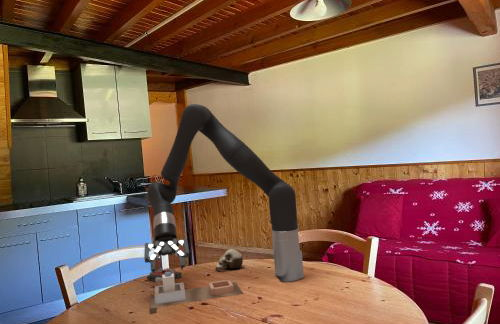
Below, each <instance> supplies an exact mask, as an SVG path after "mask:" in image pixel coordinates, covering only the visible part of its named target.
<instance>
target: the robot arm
mask: <svg viewBox="0 0 500 324" xmlns="http://www.w3.org/2000/svg"><path fill="white" fill-rule="evenodd" d="M177 128H178V129H177V132H176V135H175V139H174V142H173V144H172V147H171V149H170V151H169V154H168V156H167V158H166V161H165V163H164V165H163V166H162V169H161V172H160V176H161V177H162V178H163V179H165V180H166V181H168V184H166V183H162V182H158V181H153V182H151V183H150V184H149V185H148V187H147V191H146V193H147V198H148V202H149V204H150V206H151V209H152V210H153V211H152V212H153V226H152V227H153V239H154V240H153V241H154V242H153V244H152V243H150V244H149V242H145V243H144V253H143V255H144V257H143V258H144V263H148V264H149V263H150V271H151V272H153V273H156V270H157V269H156V261H157V260H158V259H159V258H160V256H163V257H165V256H170V255H171V256H172V254H173V255H174V256H175V257H178V259H179V265H180V270H184V268H185V267H186V263H185V259H186V258H190V249H189V243H188V238H186V237H185V238H183V239H181V240H179V239H178V235H177V225H176V219H175V214H174V207H173V205H172V203H173V202H174V201H175V199H176V197H177V191H178V185H179V181H180V178H181V176H182V173H183V171H184V169H185V166H186V164H187V160H188V157H189V151H190V148H191V145H192V143H193V140H194V138H195V137H196V136H197V133H201V134H202V135H204V136H205V137H206V138H207V139H208V140H209V141H210V142H212V144H213V145H214V146H215V148H216V149H217V151H218V152H219V154H220V156H221V157H222V158H223V159H224V160H225V162H226V163H228V165H230V167H231V168H233V169H234V170H235V171H236V172H237V173H239V174H240V175H241V176H243V177H244V178H246V179H247V180H249V181H250V182H252V183H253V184H255V185H256V186H257V187H259V188H260V189H261V191H262V192H264V194H265V195H266V196H267V197H268V204H269V205H268V206H269V208H268V209H269V216H270V224H271V225H270V226H271V235H272V249H273V250H272V251H273V262H274V263H273V264H274V265H273V266H274V275H275V278H276V279H278V281H280V282H287V283H288V282H296V281H299V280H301V279H304V278H305V277H304V276H305V275H304V265H303V264H304V263H303V251H302V250H301V249H300V237H299V226H298V224H299V223H298V222H299V221H298V213H297V212H298V211H297V199H296V197H297V196H296V195H297V194H296V191H295V189H294V188H293V186H291V185H290V184H288V183H287V182H286V181H284V180H283V179H281V178H280V176H278V175H276V174H275V173H274V172H273V171H272V170H271V169H270V168H269V167H268V166H267V165H266V164H265V163H264V161H263V160H262V159H261V158H260V157H259V156H258V155H257V154H256V153H255V152H254V150H252V149H251V147H249V146H248V145H247V144H246V143H245V142H243V141H242V140H241V139H240V138H239V137H237V136H236V135H235V134H234V133H233V132H231V131H230V130H228V129H227V128H226V126H225V125H223V124H222V123H221V121H219V119H217V117H216V116H215V115H214V113H212V111H211V110H210V109H209V108H208V107H206V106H205V105H202V104H196V103H194V104H193V103H192V104H188V105H187V106H186V107H185V108H184V109H183V111H182V113H181V118H180V122H179V125H178V127H177ZM179 246H181V248H183V250H184V252H183V251H182V250H181V249H180V248H179ZM152 249H153V250H154V251H153V253H152V255H150V252H151V251H152ZM151 272H150V273H151Z"/></svg>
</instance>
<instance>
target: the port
mask: <svg viewBox="0 0 500 324" xmlns="http://www.w3.org/2000/svg"><path fill="white" fill-rule="evenodd" d="M185 290H186V289H185V284H184V282H177V283H176V282H175V291H173V292H166V293H164V291H163V284H162V285H154V294H155V306H156V305H163V304H169V303H176V302H182V301H186V298H185Z"/></svg>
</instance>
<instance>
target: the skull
mask: <svg viewBox="0 0 500 324" xmlns="http://www.w3.org/2000/svg"><path fill="white" fill-rule="evenodd" d="M243 263H244V259H243V255H242V254H241V253H240V252H239V251H237V250H236V249H234V248H230V249H227V250H225V253H223V255H222V256H221V257H220V259H219V260H218V263H217V265H216V266H215V270H216V271H217V272H219V273H221V272H222V273H227V272H228V273H229V272H235V271H240V270H241V269H243V268H245V265H243Z"/></svg>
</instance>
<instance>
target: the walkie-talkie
mask: <svg viewBox="0 0 500 324" xmlns="http://www.w3.org/2000/svg"><path fill="white" fill-rule="evenodd" d="M155 270H156V273H153V272H149V275H147V276H146V279H147V280H149V281H152V282H156V283H158V282H163V278H162V275H165V272H169V271H170V272H171V274H173V273H174V280H177V279H182V272H180V271H176V269H175V268H169V267H167V268H162V267H161V268H159V269H155Z"/></svg>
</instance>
